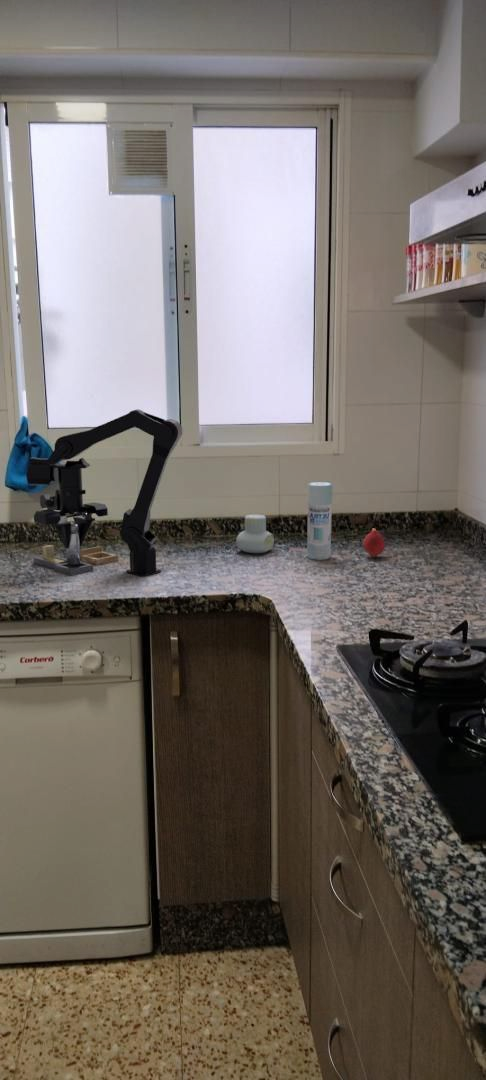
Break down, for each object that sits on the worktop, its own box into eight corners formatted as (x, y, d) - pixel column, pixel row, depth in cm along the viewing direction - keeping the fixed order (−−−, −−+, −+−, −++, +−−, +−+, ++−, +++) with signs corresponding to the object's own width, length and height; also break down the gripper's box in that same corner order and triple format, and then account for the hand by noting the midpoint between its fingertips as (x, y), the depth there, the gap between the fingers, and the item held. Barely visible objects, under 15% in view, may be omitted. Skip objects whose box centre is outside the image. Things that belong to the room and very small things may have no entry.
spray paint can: (330, 554, 240) (332, 482, 236) (330, 560, 234) (332, 485, 230) (307, 554, 241) (308, 481, 237) (306, 559, 234) (307, 485, 230)
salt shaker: (83, 562, 222) (81, 523, 220) (71, 565, 219) (70, 525, 217) (75, 560, 224) (73, 522, 222) (63, 562, 221) (62, 523, 219)
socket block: (93, 570, 222) (93, 564, 222) (71, 575, 217) (70, 569, 217) (52, 559, 234) (52, 553, 234) (30, 563, 229) (30, 558, 229)
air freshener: (260, 557, 237) (260, 520, 235) (233, 554, 241) (233, 518, 239) (276, 549, 247) (276, 514, 245) (249, 546, 250) (250, 511, 248)
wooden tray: (118, 560, 233) (118, 550, 232) (97, 565, 228) (96, 554, 227) (100, 556, 238) (99, 546, 237) (78, 560, 233) (78, 550, 232)
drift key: (65, 565, 226) (65, 548, 225) (58, 566, 225) (57, 550, 224) (51, 561, 231) (50, 544, 230) (43, 562, 229) (42, 546, 228)
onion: (383, 555, 240) (385, 526, 238) (385, 560, 234) (386, 530, 232) (362, 554, 240) (363, 526, 238) (363, 559, 234) (364, 530, 233)
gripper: (81, 478, 229) (84, 536, 233) (19, 486, 216) (23, 548, 220) (108, 483, 222) (110, 543, 225) (45, 491, 209) (48, 555, 212)
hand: (72, 547), depth 221 cm, fingers closed on salt shaker, 3 cm apart
